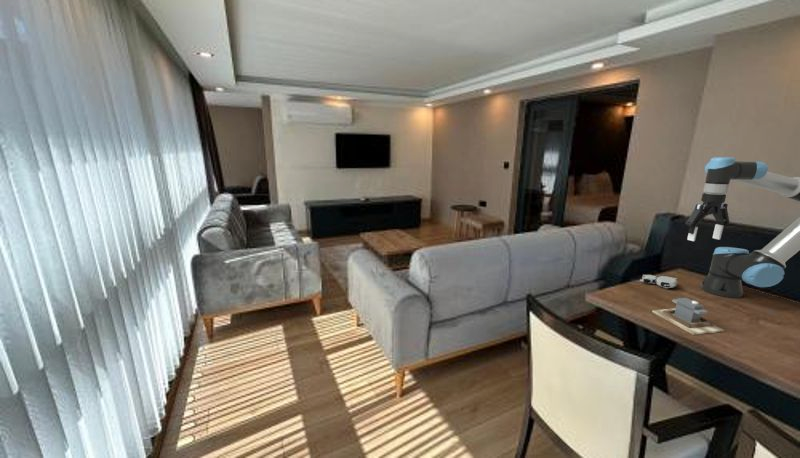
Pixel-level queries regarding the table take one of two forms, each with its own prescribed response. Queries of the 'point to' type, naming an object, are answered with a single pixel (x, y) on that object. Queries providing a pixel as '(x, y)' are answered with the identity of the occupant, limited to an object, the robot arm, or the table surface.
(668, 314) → the pocket board
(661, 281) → the robot toy
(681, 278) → the table surface
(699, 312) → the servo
